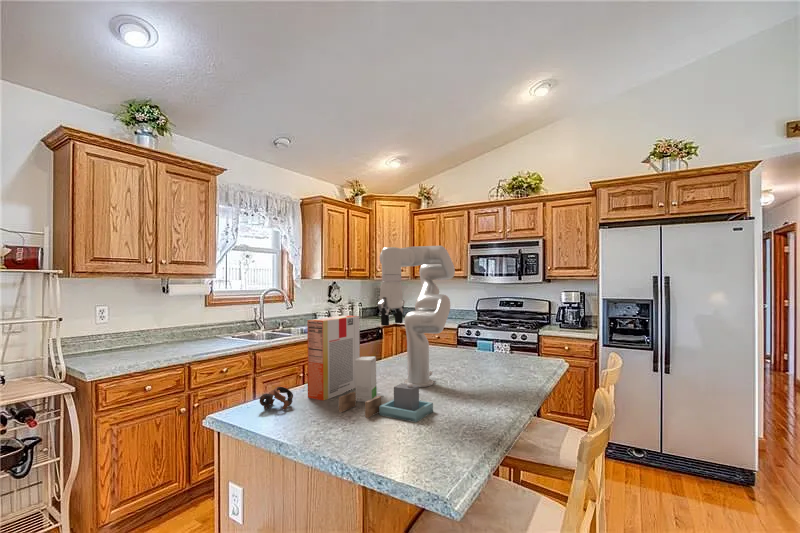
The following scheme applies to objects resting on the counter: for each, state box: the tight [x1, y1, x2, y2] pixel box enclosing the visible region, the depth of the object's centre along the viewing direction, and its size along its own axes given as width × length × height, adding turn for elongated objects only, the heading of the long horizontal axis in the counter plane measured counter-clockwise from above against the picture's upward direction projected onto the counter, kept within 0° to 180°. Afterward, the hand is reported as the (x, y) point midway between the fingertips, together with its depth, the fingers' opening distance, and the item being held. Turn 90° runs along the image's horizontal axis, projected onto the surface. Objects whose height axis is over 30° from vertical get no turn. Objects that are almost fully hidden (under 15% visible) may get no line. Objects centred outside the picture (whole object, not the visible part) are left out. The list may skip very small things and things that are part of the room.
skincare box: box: [355, 356, 378, 403], centre depth 155 cm, size 8×7×16 cm
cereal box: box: [307, 314, 361, 401], centre depth 165 cm, size 23×8×30 cm, turn 149°
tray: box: [379, 398, 434, 423], centre depth 137 cm, size 12×14×3 cm
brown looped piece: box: [259, 386, 294, 411], centre depth 144 cm, size 12×10×8 cm
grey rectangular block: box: [393, 383, 420, 411], centre depth 137 cm, size 5×7×9 cm
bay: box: [338, 391, 383, 419], centre depth 140 cm, size 8×12×5 cm, turn 59°
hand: (392, 324), depth 155 cm, fingers open, 9 cm apart
